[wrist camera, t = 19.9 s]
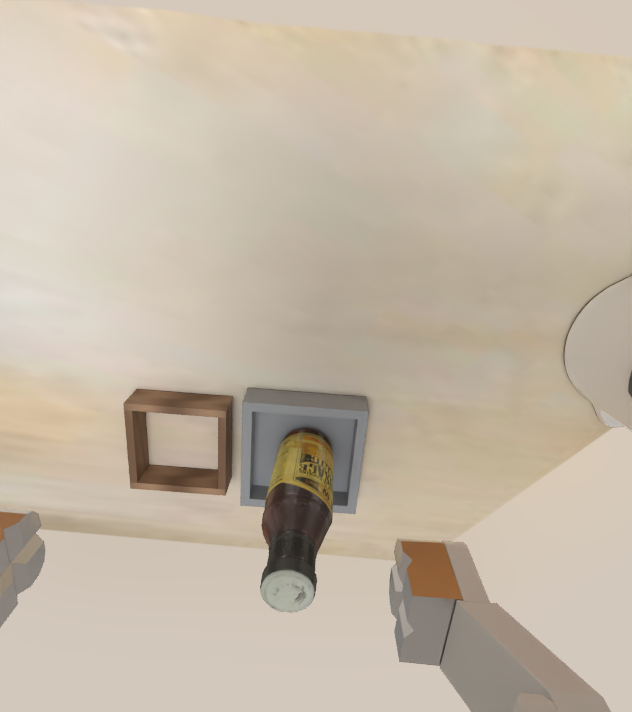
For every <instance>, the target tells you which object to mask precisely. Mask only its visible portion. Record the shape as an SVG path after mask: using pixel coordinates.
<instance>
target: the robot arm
mask: <svg viewBox="0 0 632 712" xmlns="http://www.w3.org/2000/svg"><path fill="white" fill-rule="evenodd" d="M565 366H566V371H567V374H568V376H569V378H570V380H571V382H572V384H573V385H574V387H575V388H576V389H577V390H578V391H579V392H580V393H581V394H582V395H584V396H585V397H586V398H587V399H588V400H589V401H590V402H591V403H592V404H593V406H594V409H595V412H596V414H597V416H598V418H599V420H600V421H601V422H602V423H604V424H605V425H607V426H609V427H626V428H627V429H629V430H630V431H632V276H630V277H628V278H626V279H624V280H622V281H620V282H618V283H616V284H614V285H612V286H610V287H609V288H607V289H605V290H604V291H602V292H601V293H600V294H598V295H597V296H596V297H595V298H594V299H592V300H591V301H590V302H589V303H588V304H587V305H586V306H585V308H584V309H583V310H582V311H581V313H580V314H579V315H578V317H577V318H576V320H575V322H574V323H573V325H572V327H571V329H570V332H569V334H568V337H567V341H566V346H565ZM40 527H41V522H40V518H39V514H38V513H36V512H34V511H27V510H17V509H7V508H0V627H1V626H2V624H3V623H4V622H5V621H6V619H7V618H8V617H9V615H10V614H11V612H12V611H13V610H14V608H15V607H16V606H17V604H18V602H17V594H19V593H21V592H22V591H24V590H26V589H27V588H29V587H30V586H31V585H32V584H33V583H34V581H35V580H36V578H37V577H38V575H39V573H40V571H41V568H42V566H43V563H44V558H45V546H44V541H43V540H42V539H41V538H40V537H39V536H38V535H37V534H36V532H37V531H38V529H39V528H40ZM394 554H395V559H396V564H395V565H394V566H393V567H392V568H391V574H390V588H389V594H390V605H391V612H392V614H393V615H394V616H395V617H396V619H397V621H396V626H395V638H396V644H397V650H398V655H399V661H400V662H409V663H417V664H428V665H437V666H440V669H441V670H442V672H443V673H444V674H445V676H446V677H447V679H448V680H449V681H450V683H451V684H452V685H453V687H454V688H455V690H456V691H457V692H458V694H459V695H460V696H461V698H462V699H463V701H464V702H465V703H466V705H467V706H468V707H469V709H470V710H471V712H611V711H610V709H609V708H608V706H607V704H606V702H605V700H604V698H603V697H602V696H601V695H599V693H597V692H596V691H595V690H594V689H593V688H592V687H590V685H588V684H587V683H586V682H585V681H584V680H583V679H582V678H580V677H579V676H578V675H577V674H576V673H575V672H574V671H573V670H571V669H570V668H569V667H568V666H567V665H566V664H565V663H564V662H562V661H561V660H560V659H559V658H558V657H556V655H554V654H553V653H552V652H551V651H550V650H549V649H548V648H547V647H545V646H544V645H543V644H542V643H541V642H540V641H539V640H537V639H536V638H535V637H534V636H533V635H532V634H531V633H530V632H529V631H527V630H526V629H525V628H524V627H523V626H522V625H521V624H520V623H518V622H517V621H516V620H515V619H514V618H513V617H512V616H511V615H509V614H508V613H507V612H506V611H505V610H504V609H503V608H502V607H500V606H499V605H498V604H497V603H490V601H489V600H488V597H487V594H486V592H485V589H484V587H483V584H482V582H481V579H480V577H479V574H478V572H477V569H476V567H475V564H474V562H473V559H472V557H471V554H470V552H469V549H468V547H467V545H466V544H465V543H463V542H449V541H441V542H440V541H428V540H413V539H397V542H396V545H395V551H394Z"/></svg>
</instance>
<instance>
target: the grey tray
mask: <svg viewBox="0 0 632 712" xmlns="http://www.w3.org/2000/svg"><path fill="white" fill-rule="evenodd" d="M368 413H369V411H368V405H367V400H366V397H360V396H348V395H335V394H322V393H309V392H296V391H283V390H270V389H257V388H248V389H247V392H246V395H245V397H244V400H243V407H242V455H241V503H240V505H241V506H254V507H265V501H266V497H267V493H268V489H269V484H270V480H271V476H272V473H273V468H274V464H275V460H276V455H277V452H278V448H279V446H280V444H281V443H282V441H283V439H284V438H285V437H286V436H287V435H288V434H289V433H290V432H292V431H295V430H300V429H304V428H306V429H312V430H314V431H317V432H319V433H321V434H322V435H324V436H325V437H326V438H327V439H328V441H329V443H330V445H331V450H332V452H333V510H332V511H333V512H334V513H347V514H355V513H356V505H357V497H358V490H359V482H360V474H361V467H362V459H363V452H364V444H365V436H366V429H367V421H368Z"/></svg>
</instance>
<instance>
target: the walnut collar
mask: <svg viewBox="0 0 632 712" xmlns="http://www.w3.org/2000/svg"><path fill="white" fill-rule="evenodd" d="M232 398H233V396H220V395H207V394H194V393H181V392H169V391H156V390H143V389H136V391H135V392H134V393H133V394H132V395H131V396H130V397H129V398H128V399H127V400H126V401H125V402H124V414H125V426H126V438H127V450H128V462H129V474H130V487H131V488H132V489H146V490H159V491H172V492H185V493H198V494H212V495H226V492H227V489H228V486H229V483H230V480H231V477H232ZM146 412H155V413H168V414H181V415H194V416H207V417H218V470H211V469H198V468H185V467H172V466H158V465H149V459H148V443H147V427H146Z"/></svg>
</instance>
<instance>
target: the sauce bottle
mask: <svg viewBox="0 0 632 712" xmlns="http://www.w3.org/2000/svg"><path fill="white" fill-rule="evenodd" d="M332 510H333V452H332V450H331V445H330V443H329V441H328V439H327V438H326V437H325V436H324V435H322V434H321V433H319V432H317V431H314V430H312V429H306V428H304V429H300V430H295V431H292V432H290V433H289V434H288V435H287V436H286V437H285V438H284V439H283V441H282V443H281V444H280V446H279V448H278V452H277V455H276V460H275V464H274V468H273V473H272V476H271V480H270V484H269V489H268V493H267V497H266V501H265V511H264V513H263V519H262V530H263V535H264V538H265V540H266V543H267V544H268V546H269V558H268V563H267V566H266V568H265V569H264V572H263V574H262V580H261V586H260V589H261V595H262V598H263V600H264V601H265V602H266V603H267V604H268V605H269V606H271V607H272V608H273V609H275V610H278V611H281V612H297V611H300V610H303V609H305V608H306V607H307V606H309V605H310V604H311V603H312V601H313V599H314V596H315V591H316V583H317V578H316V574H315V559H316V555H317V552H318V550H319V548H320V546H321V544H322V542H323V539H324V537H325V535H326V533H327V531H328V529H329V527H330V525H331V523H332V513H333V511H332Z"/></svg>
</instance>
